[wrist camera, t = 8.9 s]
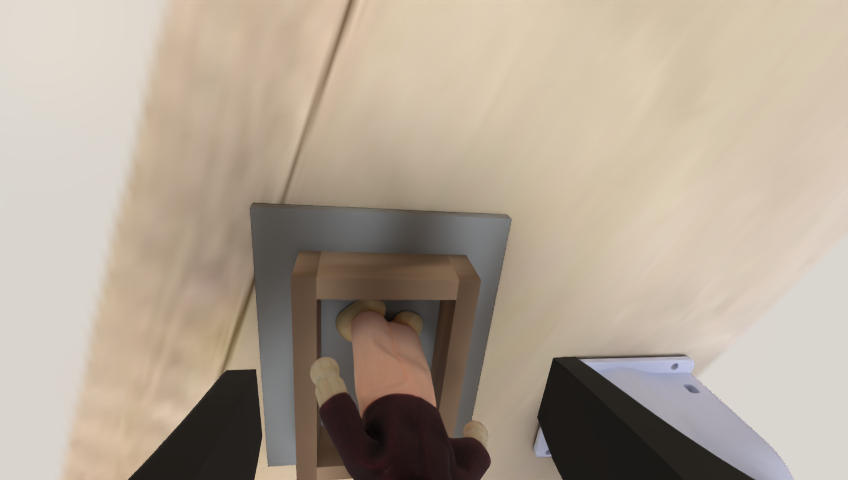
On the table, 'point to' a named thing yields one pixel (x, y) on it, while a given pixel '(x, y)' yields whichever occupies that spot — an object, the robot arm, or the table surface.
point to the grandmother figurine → (392, 404)
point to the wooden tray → (367, 280)
